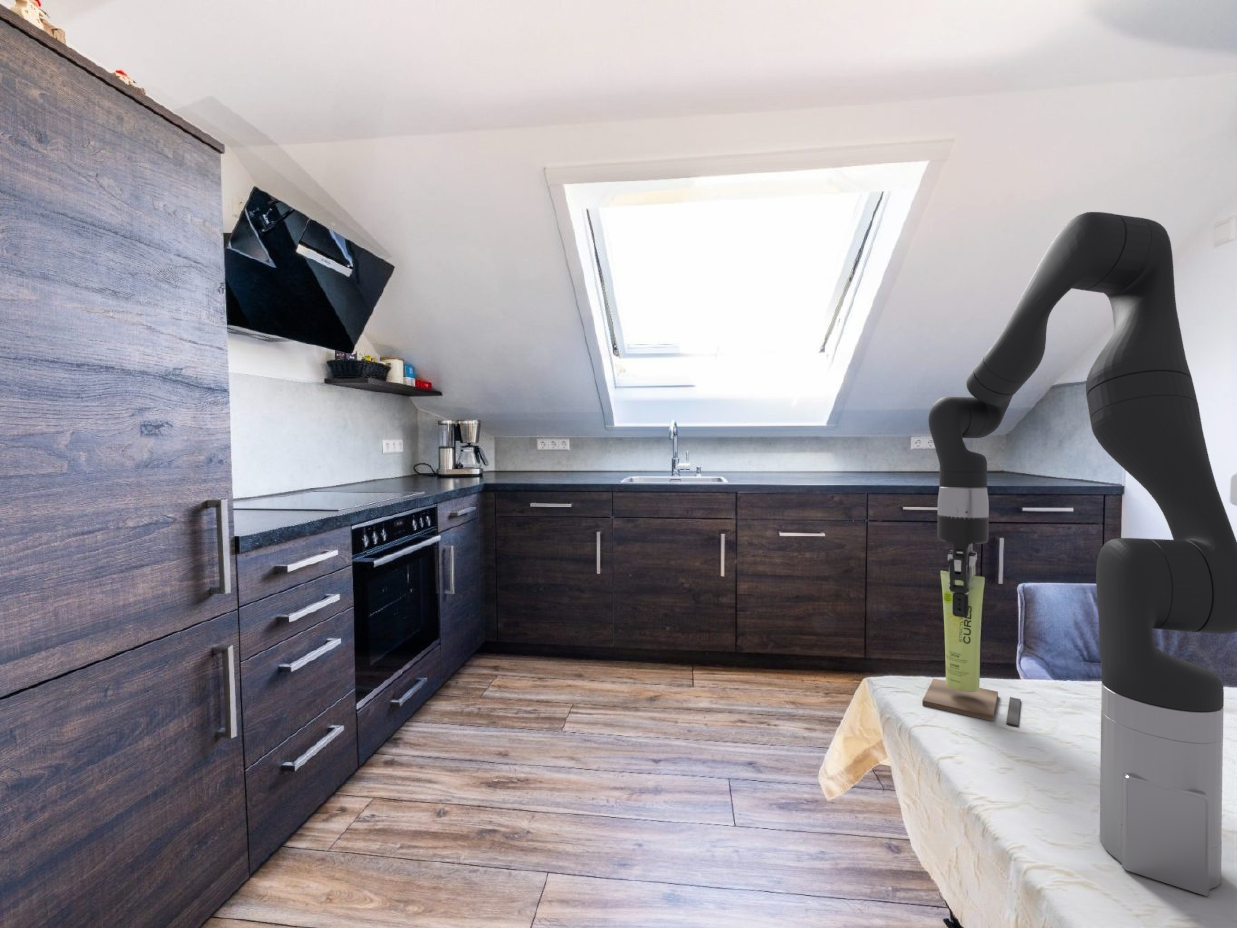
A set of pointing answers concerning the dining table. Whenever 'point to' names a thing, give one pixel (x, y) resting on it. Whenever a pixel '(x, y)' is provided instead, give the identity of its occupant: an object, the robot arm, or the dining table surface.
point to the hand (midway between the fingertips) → (961, 612)
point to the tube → (963, 636)
